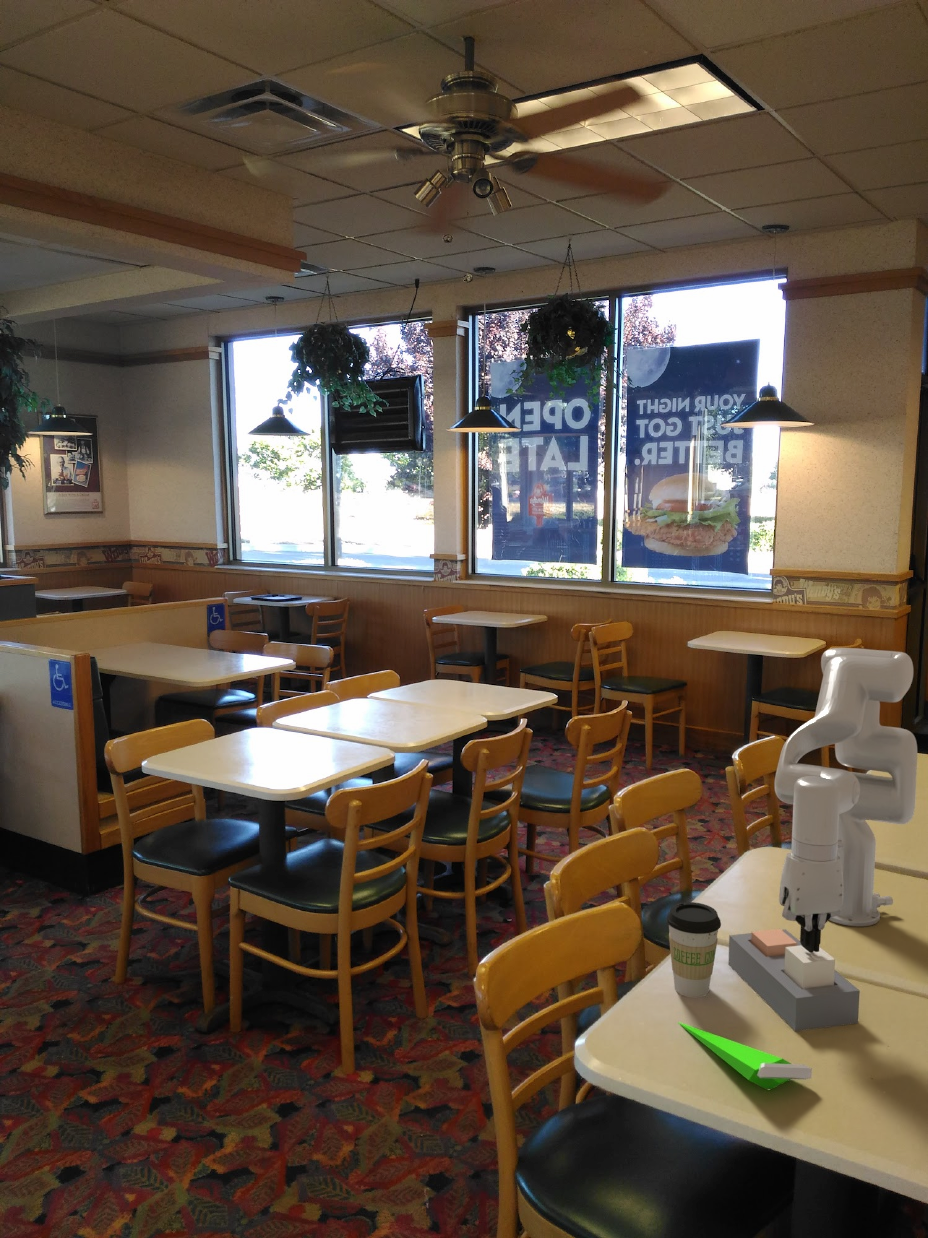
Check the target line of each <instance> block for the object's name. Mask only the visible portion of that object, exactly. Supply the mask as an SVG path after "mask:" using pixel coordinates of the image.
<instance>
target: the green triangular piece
mask: <svg viewBox="0 0 928 1238" xmlns="http://www.w3.org/2000/svg"><path fill="white" fill-rule="evenodd" d="M677 1023H678V1024H679V1025H680V1027H682V1028H683V1029H684V1030H685V1031H687V1032H688V1033H690V1034H691V1035H692V1036H693V1037H695V1038H696V1039H697V1040H698V1041H700V1043H702V1044H703V1045H705V1046H706V1047H707V1048H708V1049H709V1050H711V1051H712V1052H713V1053H714V1054H716V1056H718V1057H719V1058H720V1059H722V1060H723V1061H725V1063H727V1064H728V1065H729V1066H730V1067H732V1068H733V1069H734V1070H736V1071H737V1072H738V1073H739V1074H741V1075H742V1077H744V1078H745V1079H747V1080H748V1081H749V1082H752V1083H754V1084H755V1085H757V1086H759V1087H761V1088H762V1089H764V1090H766V1089H771V1090H773V1089H775V1088H776V1086H777V1087H779V1086H781V1085H782V1083H783V1084H785V1083H786V1081H787V1082H788V1080H789V1081H791V1080H808V1079H809V1080H810V1079H812V1073H813V1072H812V1071H813V1070H812V1069H813V1068H811V1067H810V1066H808V1065H806V1064H800V1063H799V1064H798V1063H797V1064H796V1063H795V1064H794V1063H791V1062H789V1061H787V1060H785V1059H784V1058H781V1057H779V1056H776V1055H773V1054H770V1053H768V1052H765V1051H762V1050H759V1049H756V1048H754V1047H750V1046H747V1045H744V1044H743V1043H742V1044H741V1043H739V1042H737V1041H733V1040H730V1039H728V1038H725V1037H722V1036H719V1035H716V1034H713V1033H711V1032H708V1031H706V1030H701V1029H699V1028H696V1027H693V1026H691V1025H687V1024H685V1023H682V1022H677ZM784 1082H785V1083H784ZM780 1084H781V1085H780ZM778 1085H779V1086H778ZM774 1087H775V1088H774ZM772 1088H773V1089H772Z"/></svg>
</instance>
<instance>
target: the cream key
mask: <svg viewBox="0 0 928 1238" xmlns="http://www.w3.org/2000/svg"><path fill="white" fill-rule="evenodd" d="M835 965H836V959H835V958H834V957H833V956H832V955H830V953H828V952H827V951H825V950H824V949H823V948H821V947H820V946H819V952H815V951H814V952H812V953H810V952H809V951H807V950H806V949H805V948H804V947H802V945H800V946H791V947H785V969H784V974H786V975H787V976H788V977H789V978H790V979H791V980H792V981H793V982H794V983H795V984H796V985H798V986H799V987H800V988H801V989H808V988H816V987H825V986H833V985H834V971H836V968H835V967H836V966H835Z"/></svg>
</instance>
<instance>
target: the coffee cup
mask: <svg viewBox="0 0 928 1238" xmlns="http://www.w3.org/2000/svg"><path fill="white" fill-rule="evenodd" d="M665 921H666V923H667V924H668V931H669V933H668V941H669V949H670V950H669V951H670V962H671V969H672V973H673V985H674V990H675V991H676V993H678V994H680V995H682V996H685V997H687V998H702V997H705V996H706V995H708V994H709V991H710V985H711V979H712V978H711V977H712V975H713V972H714V971H713V970H714V965H715V959H716V951H717V945H718V933H719V929H721V926H722V923H721V921H722V920H721V918H720V917H719V915H718V911H717V910H716V909H715V908H713V907H712V906H710V905H709V904H704V903H700V902H695V901H693V902H692V901H685V902H684V901H682V902H678V903H675V904H673V905H672V906H671V907H670V909H669V911H668V913H667V914H666V918H665Z"/></svg>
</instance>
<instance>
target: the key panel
mask: <svg viewBox="0 0 928 1238" xmlns="http://www.w3.org/2000/svg"><path fill="white" fill-rule="evenodd" d="M781 930H782V931H783V932H784V933H786V934H787V935H788V936H789V937H790V938H792V939H793V940H794V941H795V942H796V943H797V946H800V945H801V943H800V940H799V939H798V938H797V937H796V936H794V935H793V934H792V933H791V932H789V931H788V930H787V929H781ZM728 937H729V939H728V966H729V967H730V968H731V969H732V970H733V971H734V972H735V973H736V974H737V975H738V976H739V977H740V978H741V979H742V980H743V981H744V982H745V983H746V984H748V986H749V987H750V988H751V989H752V990H753V991H754V992H755V994H757V995H758V996H759V997H760V998H761V999H762V1000H763V1001H764V1002H765V1003H766V1004H767V1005H768V1006H769V1007H770V1008H771V1009H772V1010H773V1011H774V1012H775V1013H776V1014H777V1015H778V1016H779V1017H780V1018H781V1019H782V1020H783V1021H784V1022H785V1023H786V1024H787V1025H788V1026H789V1027H790V1028H791V1029H792V1030H793V1031H794V1032H801V1031H807V1030H815V1029H817V1030H818V1029H823V1028H824V1029H825V1028H832V1027H838V1026H839V1027H840V1026H845V1025H846V1026H847V1025H853V1024H859V1014H860V1013H859V1012H860V1011H859V1010H860V989H858V988H857V987H856V986H855V985H854V984H852V983H851V982H850V981H849V980H848V979H846V978H845V977H844V976H843V975H842V974H840V973H839V972H838V971H837V970H835V971H834V985H833V986H825V987H816V988H808V989H801V988H800V987H799V986H798V985H796V984H795V983H794V982H793V981H792V980H791V979H790V978H789V977H788V976H787V975H786V974H784V969H785V955H778V956H770V957H766V956H765V955H764V954H762V953H761V952H760V951H759V950H758V949H757V948H756V947H755V946H754V945H753V944H752V943H751V932H750V933H749V932H748V933H738V934H729V936H728Z"/></svg>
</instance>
